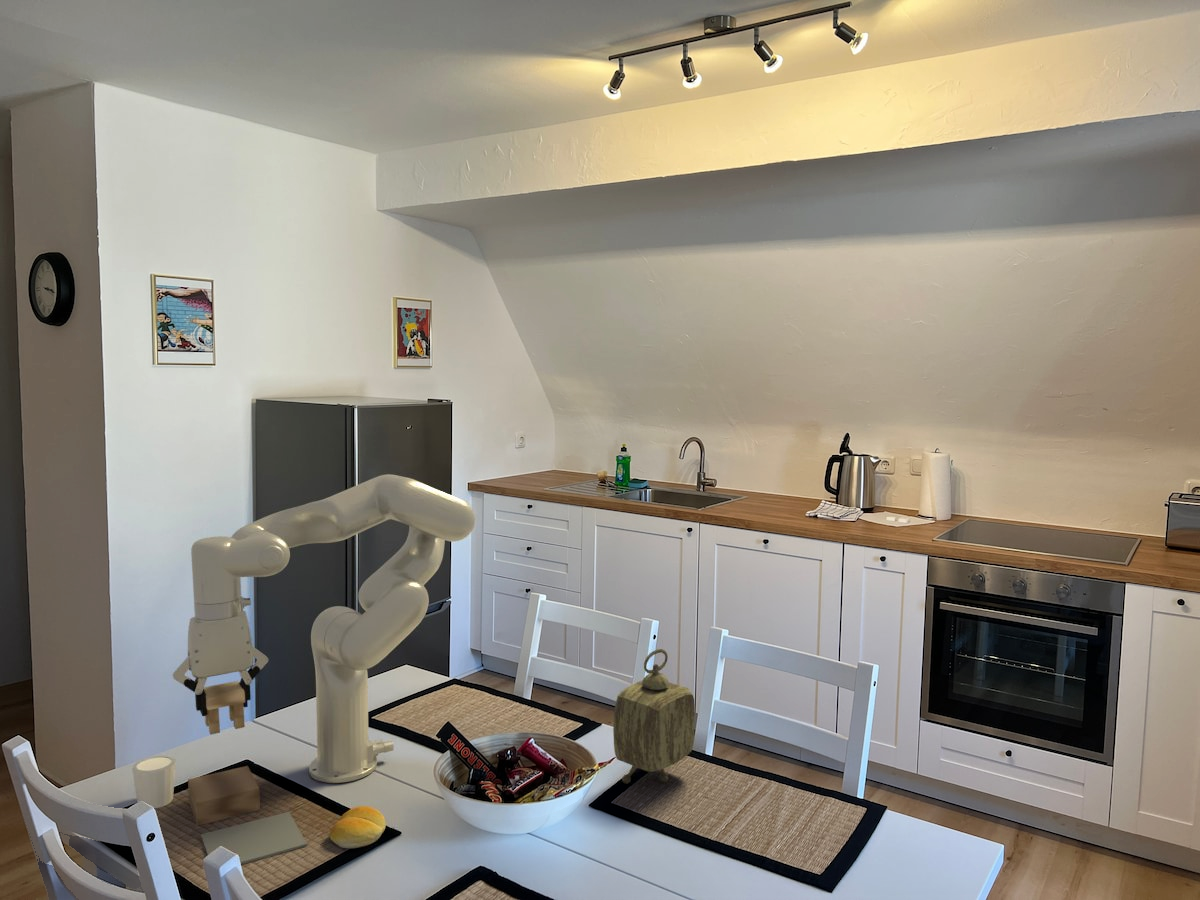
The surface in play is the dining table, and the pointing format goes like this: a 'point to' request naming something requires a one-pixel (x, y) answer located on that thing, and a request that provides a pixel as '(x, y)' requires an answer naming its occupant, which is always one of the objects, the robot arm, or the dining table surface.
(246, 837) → the mat
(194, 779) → the step
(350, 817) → the bread roll
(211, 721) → the stool
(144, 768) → the cream cup
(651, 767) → the tabletop clock
